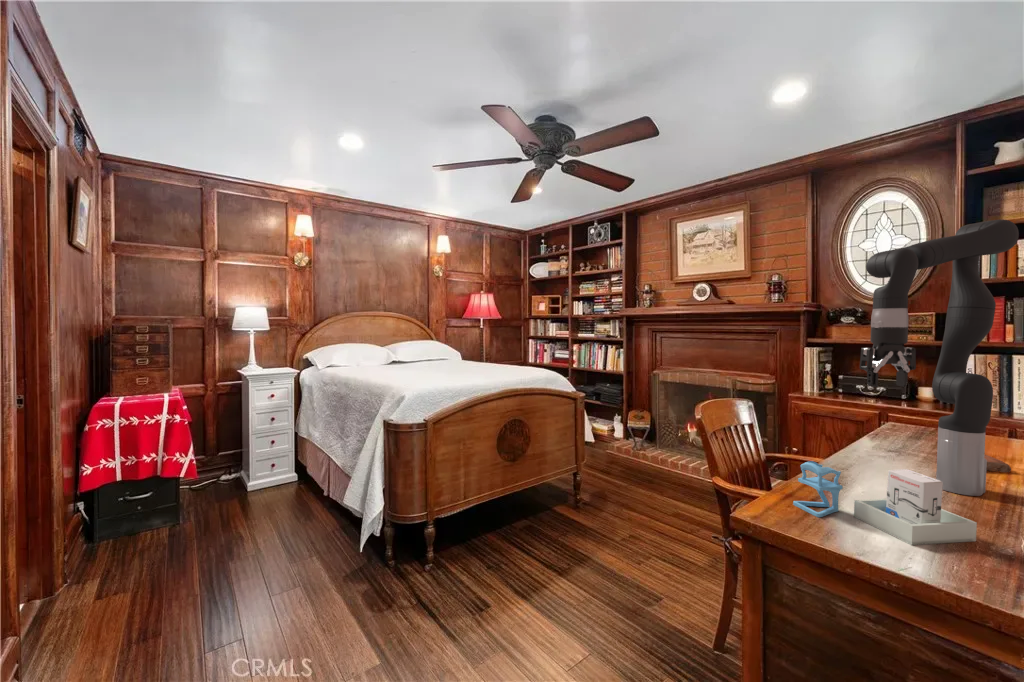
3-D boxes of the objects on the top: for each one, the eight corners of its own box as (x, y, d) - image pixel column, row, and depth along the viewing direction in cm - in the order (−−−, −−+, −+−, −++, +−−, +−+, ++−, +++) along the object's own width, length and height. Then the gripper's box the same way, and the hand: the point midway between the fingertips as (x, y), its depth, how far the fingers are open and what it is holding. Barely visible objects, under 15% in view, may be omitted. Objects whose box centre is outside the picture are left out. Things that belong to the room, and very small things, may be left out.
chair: (847, 515, 106) (849, 466, 105) (818, 517, 104) (819, 468, 104) (820, 502, 113) (821, 457, 113) (792, 504, 112) (793, 458, 112)
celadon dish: (911, 513, 107) (911, 497, 107) (976, 541, 93) (976, 522, 93) (853, 516, 105) (854, 500, 105) (911, 545, 91) (912, 526, 91)
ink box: (884, 517, 103) (885, 468, 103) (902, 516, 104) (904, 468, 103) (921, 534, 95) (923, 481, 94) (941, 533, 95) (944, 481, 95)
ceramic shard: (922, 443, 152) (965, 450, 151) (921, 462, 151) (964, 468, 151) (966, 450, 137) (1014, 457, 137) (965, 471, 136) (1013, 478, 136)
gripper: (898, 325, 120) (896, 384, 121) (852, 325, 118) (850, 384, 119) (927, 325, 112) (925, 388, 113) (878, 325, 111) (876, 388, 111)
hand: (886, 386), depth 116 cm, fingers open, 8 cm apart
